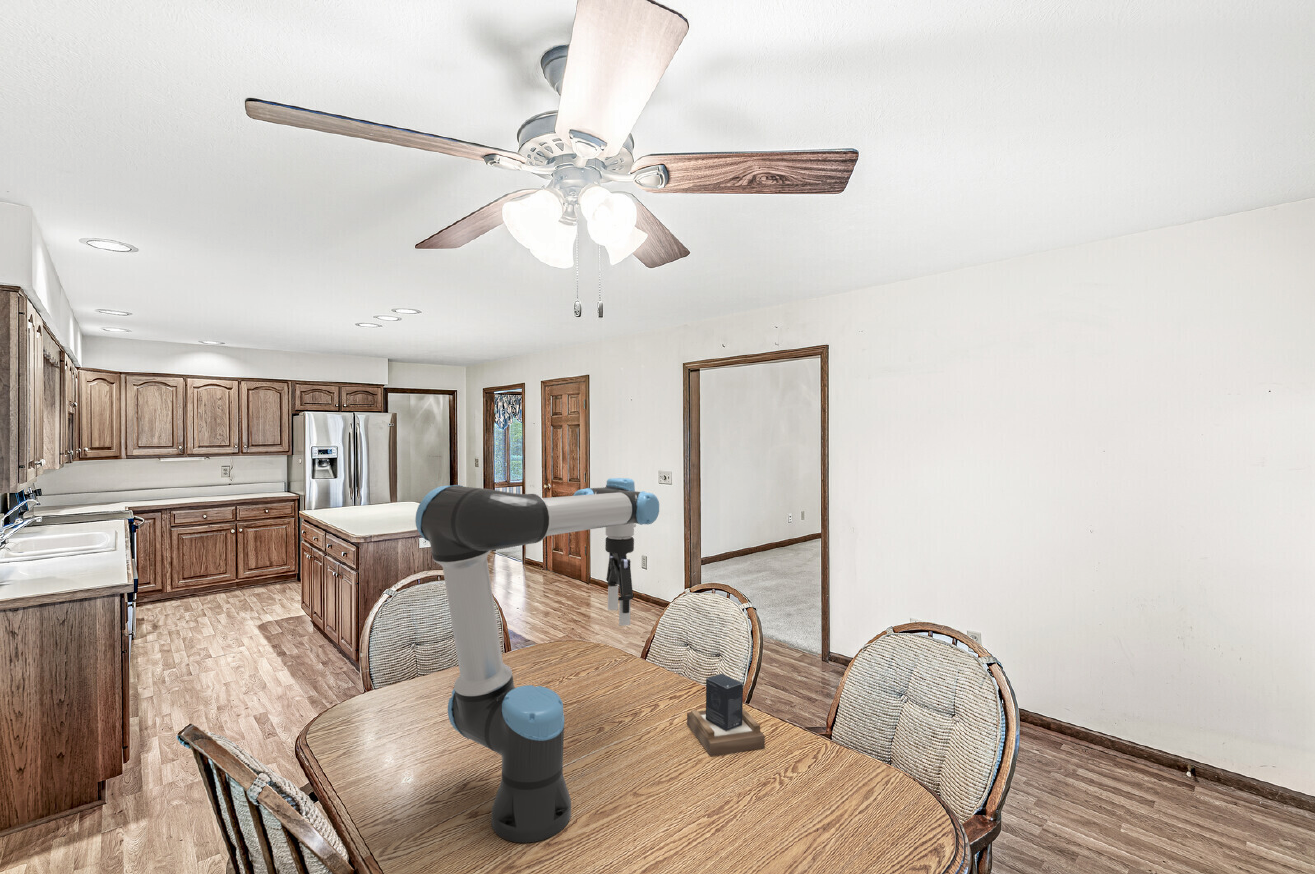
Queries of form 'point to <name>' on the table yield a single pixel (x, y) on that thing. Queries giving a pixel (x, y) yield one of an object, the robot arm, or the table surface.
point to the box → (724, 701)
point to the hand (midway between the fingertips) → (618, 617)
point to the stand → (726, 734)
